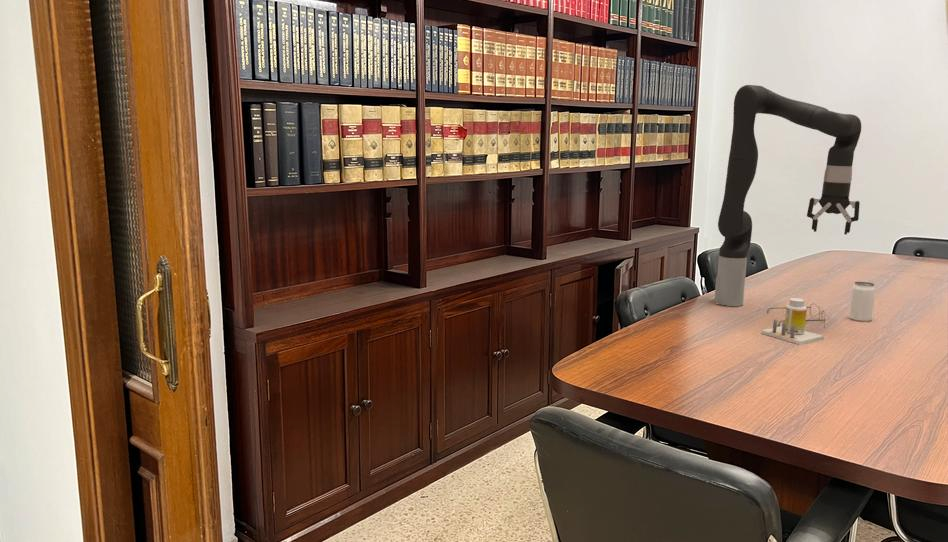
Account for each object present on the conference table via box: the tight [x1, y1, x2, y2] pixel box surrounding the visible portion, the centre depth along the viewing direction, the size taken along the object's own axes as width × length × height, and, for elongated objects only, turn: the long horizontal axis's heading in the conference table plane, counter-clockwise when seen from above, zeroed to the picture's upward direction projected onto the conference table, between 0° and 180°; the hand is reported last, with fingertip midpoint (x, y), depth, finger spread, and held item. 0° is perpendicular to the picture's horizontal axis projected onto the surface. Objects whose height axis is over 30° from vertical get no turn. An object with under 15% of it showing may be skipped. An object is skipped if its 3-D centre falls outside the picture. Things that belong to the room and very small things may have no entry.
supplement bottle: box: [784, 297, 808, 334], centre depth 206 cm, size 6×6×10 cm
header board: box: [761, 319, 825, 345], centre depth 206 cm, size 13×11×5 cm
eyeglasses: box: [766, 303, 826, 329], centre depth 223 cm, size 16×15×5 cm
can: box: [849, 281, 876, 323], centre depth 224 cm, size 6×6×12 cm
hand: (830, 232), depth 214 cm, fingers open, 8 cm apart
